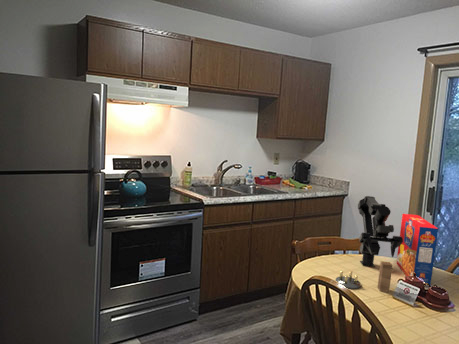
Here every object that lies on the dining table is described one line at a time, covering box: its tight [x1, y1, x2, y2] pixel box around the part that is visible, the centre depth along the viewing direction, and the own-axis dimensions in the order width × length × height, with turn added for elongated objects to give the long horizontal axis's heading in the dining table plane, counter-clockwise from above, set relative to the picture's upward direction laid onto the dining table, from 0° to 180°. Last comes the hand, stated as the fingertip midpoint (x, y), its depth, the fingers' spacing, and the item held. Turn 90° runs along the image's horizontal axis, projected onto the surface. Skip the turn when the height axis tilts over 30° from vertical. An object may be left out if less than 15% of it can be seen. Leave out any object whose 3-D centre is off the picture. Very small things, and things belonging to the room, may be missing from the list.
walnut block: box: [377, 260, 393, 293], centre depth 166 cm, size 4×4×12 cm
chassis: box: [335, 270, 361, 290], centre depth 171 cm, size 11×11×5 cm
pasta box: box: [395, 213, 439, 286], centre depth 187 cm, size 28×8×28 cm, turn 170°
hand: (382, 255), depth 173 cm, fingers open, 9 cm apart
